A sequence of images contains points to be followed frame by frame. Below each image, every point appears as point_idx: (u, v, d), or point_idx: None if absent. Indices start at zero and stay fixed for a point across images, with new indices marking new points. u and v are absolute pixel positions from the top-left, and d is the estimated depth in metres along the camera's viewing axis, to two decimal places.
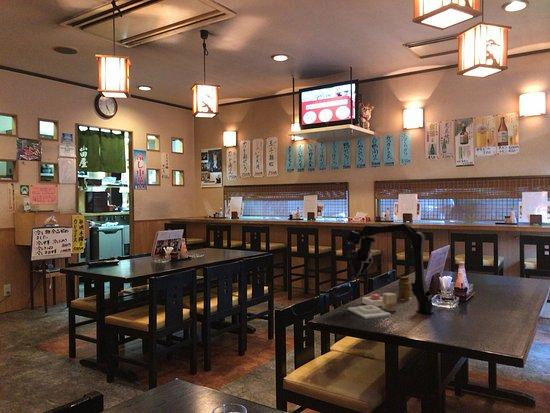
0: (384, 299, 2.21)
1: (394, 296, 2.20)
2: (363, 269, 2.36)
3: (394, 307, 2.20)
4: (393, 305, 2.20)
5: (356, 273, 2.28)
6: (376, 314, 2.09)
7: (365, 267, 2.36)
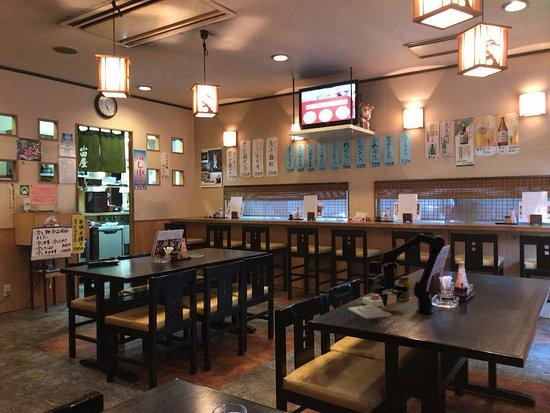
0: None
1: (394, 296, 2.20)
2: None
3: (394, 307, 2.20)
4: (393, 305, 2.20)
5: (383, 302, 2.20)
6: (376, 314, 2.09)
7: None
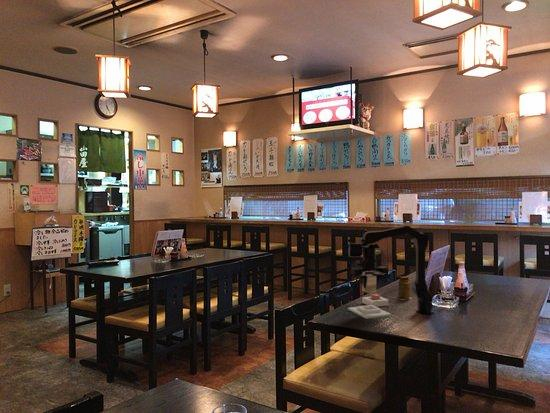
0: None
1: (374, 278, 2.14)
2: None
3: (374, 289, 2.14)
4: (373, 287, 2.14)
5: (363, 284, 2.14)
6: (376, 314, 2.09)
7: None
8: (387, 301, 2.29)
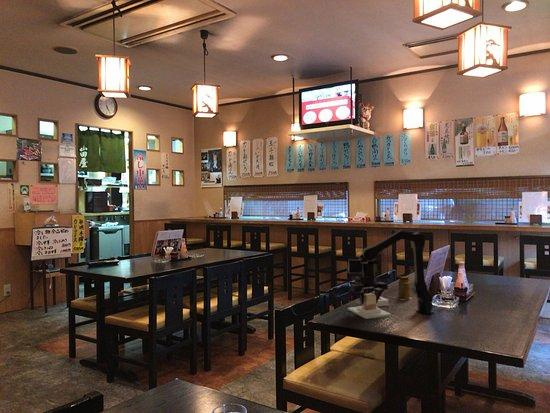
0: (364, 300, 2.15)
1: (374, 297, 2.14)
2: (376, 297, 2.17)
3: (374, 308, 2.14)
4: (373, 306, 2.14)
5: (361, 300, 2.14)
6: (376, 314, 2.09)
7: (377, 295, 2.16)
8: (387, 301, 2.29)
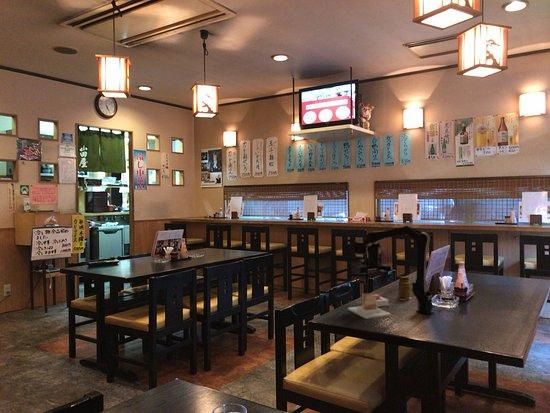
0: (364, 300, 2.15)
1: (374, 297, 2.14)
2: (381, 279, 2.29)
3: (374, 308, 2.14)
4: (373, 306, 2.14)
5: (364, 281, 2.26)
6: (376, 314, 2.09)
7: (382, 276, 2.29)
8: (387, 301, 2.29)
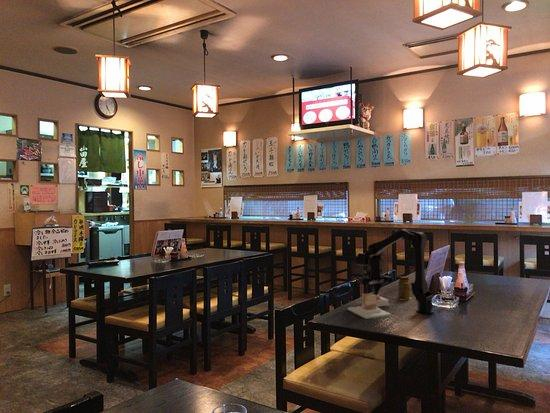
0: (364, 300, 2.15)
1: (374, 297, 2.14)
2: None
3: (374, 308, 2.14)
4: (373, 306, 2.14)
5: (374, 292, 2.32)
6: (376, 314, 2.09)
7: None
8: (387, 301, 2.29)
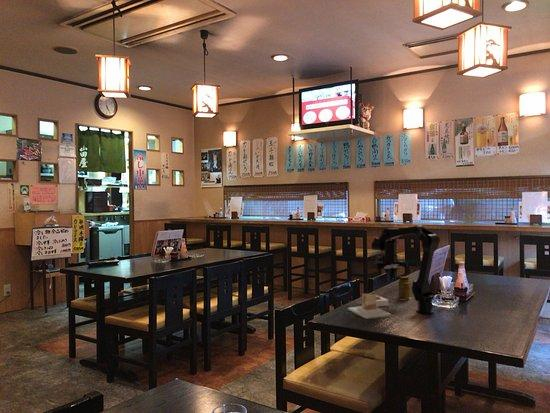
0: (364, 300, 2.15)
1: (374, 297, 2.14)
2: None
3: (374, 308, 2.14)
4: (373, 306, 2.14)
5: (388, 276, 2.31)
6: (376, 314, 2.09)
7: None
8: (387, 301, 2.29)
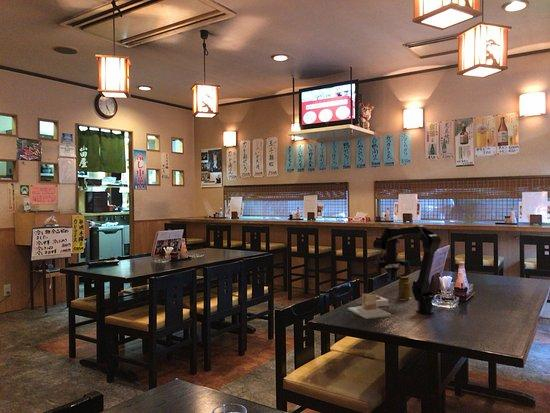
0: (364, 300, 2.15)
1: (374, 297, 2.14)
2: None
3: (374, 308, 2.14)
4: (373, 306, 2.14)
5: (389, 276, 2.31)
6: (376, 314, 2.09)
7: None
8: (387, 301, 2.29)
